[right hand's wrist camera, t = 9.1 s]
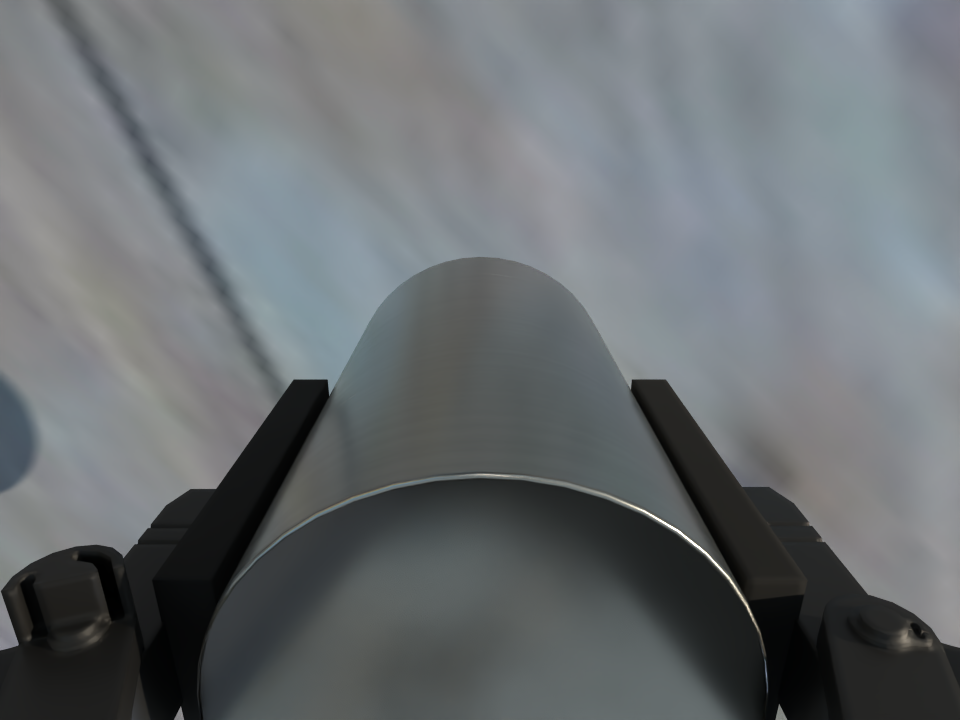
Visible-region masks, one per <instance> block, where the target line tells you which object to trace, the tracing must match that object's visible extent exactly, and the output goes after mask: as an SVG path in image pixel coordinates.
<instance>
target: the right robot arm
mask: <svg viewBox="0 0 960 720" xmlns="http://www.w3.org/2000/svg"><path fill="white" fill-rule="evenodd" d="M631 392H632V393H633V395H634V397H635V399H636V401H637V402H638V404H639V406H640V408H641V410H642V411H643V413H644V415H645V417H646V419H647V420H648V422H649V424H650V426H651V428H652V429H653V431H654V433H655V435H656V437H657V439H658V440H659V442H660V444H661V446H662V448H663V449H664V451H665V453H666V455H667V457H668V458H669V460H670V462H671V464H672V466H673V467H674V469H675V471H676V473H677V475H678V477H679V478H680V480H681V482H682V484H683V486H684V487H685V489H686V491H687V493H688V495H689V496H690V498H691V500H692V502H693V504H694V505H695V507H696V509H697V511H698V513H699V514H700V516H701V518H702V520H703V522H704V524H705V525H706V527H707V529H708V531H709V533H710V534H711V536H712V538H713V540H714V542H715V543H716V545H717V547H718V549H719V551H720V552H721V554H722V556H723V558H724V560H725V562H726V563H727V565H728V567H729V569H730V571H731V572H732V574H733V576H734V578H735V580H736V581H737V583H738V585H739V587H740V589H741V590H742V592H743V594H744V596H745V598H746V599H747V601H748V603H749V606H750V608H751V610H752V612H753V615H754V617H755V619H756V621H757V624H758V626H759V628H760V631H761V635H762V639H763V643H764V647H765V651H766V655H767V664H768V680H769V693H768V702H767V710H766V718H765V720H775V719H776V715H777V710H778V706H779V704H780V706H781V708H782V710H783V712H784V714H785V716H786V718H787V720H960V648H958V647H954V646H950V645H947V644H943V643H941V642H940V641H939V639H938V638H937V636H936V635H935V633H934V632H933V630H932V629H931V628H930V627H929V626H928V625H927V624H925V623H924V622H923V621H922V620H921V619H919V618H918V617H917V616H916V615H915V614H913V613H911V612H910V611H908V610H906V609H904V608H902V607H900V606H898V605H896V604H895V603H893V602H890V601H886V600H883V599H880V598H877V597H874V596H871V595H868V594H867V593H866V592H865V591H864V589H863V588H862V587H861V586H860V584H859V583H858V582H857V581H856V579H855V578H854V577H853V576H852V575H851V573H850V572H849V571H848V570H847V568H846V567H845V566H844V565H843V563H842V562H841V561H840V560H839V559H838V557H837V556H836V555H835V554H834V552H833V551H832V550H831V549H830V547H829V546H828V545H827V544H826V543H825V542H822V538H821V536H820V535H819V534H818V533H817V531H816V530H815V529H814V528H813V527H812V526H809V522H808V520H807V519H806V518H805V517H804V515H803V514H802V513H801V512H800V511H799V509H798V508H797V507H796V506H795V504H794V503H792V502H791V501H789V500H788V499H786V498H785V497H783V496H782V495H780V494H779V493H777V492H776V491H774V490H773V489H771V488H770V487H741V485H740V484H739V482H738V481H737V480H736V478H735V477H734V475H733V474H732V472H731V471H730V470H729V468H728V467H727V465H726V464H725V463H724V461H723V460H722V458H721V457H720V455H719V454H718V453H717V451H716V450H715V448H714V447H713V446H712V444H711V443H710V441H709V440H708V439H707V437H706V436H705V434H704V433H703V431H702V430H701V429H700V427H699V426H698V424H697V423H696V422H695V420H694V419H693V417H692V416H691V415H690V413H689V412H688V410H687V409H686V407H685V406H684V405H683V403H682V402H681V400H680V399H679V398H678V396H677V395H676V393H675V392H674V391H673V389H672V388H671V386H670V385H669V383H668V382H667V381H666V380H632V385H631ZM328 398H329V390H328V380H293V381H292V383H291V384H290V386H289V387H288V389H287V390H286V391H285V393H284V394H283V396H282V397H281V398H280V400H279V401H278V403H277V404H276V405H275V407H274V408H273V410H272V411H271V413H270V414H269V415H268V417H267V418H266V420H265V421H264V422H263V424H262V425H261V427H260V428H259V429H258V431H257V432H256V434H255V435H254V437H253V438H252V439H251V441H250V442H249V444H248V445H247V446H246V448H245V449H244V451H243V452H242V453H241V455H240V456H239V458H238V459H237V461H236V462H235V463H234V465H233V466H232V468H231V469H230V470H229V472H228V473H227V475H226V476H225V477H224V479H223V480H222V482H221V483H220V485H219V486H218V487H217V489H190V490H189V491H187V492H186V493H184V494H183V495H181V496H180V497H178V498H177V499H175V500H174V501H172V502H171V503H169V504H168V505H166V506H165V508H164V509H163V510H162V511H161V513H160V514H159V515H158V516H157V518H156V519H155V520H154V521H153V523H152V524H151V528H148V529H147V530H146V531H145V532H144V534H143V535H142V536H141V537H140V539H139V540H138V544H135V545H134V546H133V547H132V549H131V550H130V551H129V552H128V553H127V555H126V556H125V557H124V558H123V556H122V555H121V554H120V553H119V552H118V551H116V550H115V549H114V548H112V547H106V546H101V545H88V546H77V547H73V548H69V549H66V550H62V551H58V552H55V553H52V554H50V555H48V556H46V557H43V558H41V559H39V560H37V561H35V562H33V563H31V564H29V565H28V566H27V567H25V568H24V569H22V570H21V571H20V572H18V573H17V574H16V575H14V576H13V577H12V578H11V579H10V580H9V582H8V583H7V584H6V585H5V587H4V588H3V589H2V591H1V593H2V596H3V599H4V602H5V605H6V608H7V611H8V613H9V616H10V619H11V622H12V625H13V628H14V631H15V634H16V637H17V640H18V643H19V645H18V646H16V647H12V648H9V649H5V650H1V651H0V720H174V718H175V716H176V714H177V712H178V710H179V708H180V707H181V708H182V712H183V716H184V720H201V718H200V711H199V704H198V698H197V678H198V661H199V656H200V651H201V647H202V642H203V638H204V634H205V631H206V629H207V627H208V624H209V622H210V619H211V617H212V614H213V612H214V610H215V607H216V605H217V603H218V601H219V600H220V598H221V596H222V594H223V592H224V590H225V589H226V587H227V585H228V583H229V581H230V579H231V577H232V576H233V574H234V572H235V570H236V568H237V566H238V564H239V563H240V561H241V559H242V557H243V555H244V553H245V552H246V550H247V548H248V546H249V544H250V542H251V540H252V539H253V537H254V535H255V533H256V531H257V529H258V527H259V526H260V524H261V522H262V520H263V518H264V516H265V514H266V513H267V511H268V509H269V507H270V505H271V503H272V502H273V500H274V498H275V496H276V494H277V492H278V490H279V489H280V487H281V485H282V483H283V481H284V479H285V477H286V476H287V474H288V472H289V470H290V468H291V466H292V465H293V463H294V461H295V459H296V457H297V455H298V453H299V452H300V450H301V448H302V446H303V444H304V442H305V440H306V439H307V437H308V435H309V433H310V431H311V429H312V428H313V426H314V424H315V422H316V420H317V418H318V416H319V415H320V413H321V411H322V409H323V407H324V405H325V403H326V402H327V400H328Z"/></svg>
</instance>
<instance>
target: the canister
mask: <svg viewBox="0 0 960 720" xmlns="http://www.w3.org/2000/svg"><path fill="white" fill-rule="evenodd" d="M768 693H769V680H768V664H767V655H766V651H765V647H764V643H763V639H762V635H761V631H760V628H759V626H758V624H757V621H756V619H755V617H754V615H753V612H752V610H751V608H750V606H749V603H748V601H747V599H746V598H745V596H744V594H743V592H742V590H741V589H740V587H739V585H738V583H737V581H736V580H735V578H734V576H733V574H732V572H731V571H730V569H729V567H728V565H727V563H726V562H725V560H724V558H723V556H722V554H721V552H720V551H719V549H718V547H717V545H716V543H715V542H714V540H713V538H712V536H711V534H710V533H709V531H708V529H707V527H706V525H705V524H704V522H703V520H702V518H701V516H700V514H699V513H698V511H697V509H696V507H695V505H694V504H693V502H692V500H691V498H690V496H689V495H688V493H687V491H686V489H685V487H684V486H683V484H682V482H681V480H680V478H679V477H678V475H677V473H676V471H675V469H674V467H673V466H672V464H671V462H670V460H669V458H668V457H667V455H666V453H665V451H664V449H663V448H662V446H661V444H660V442H659V440H658V439H657V437H656V435H655V433H654V431H653V429H652V428H651V426H650V424H649V422H648V420H647V419H646V417H645V415H644V413H643V411H642V410H641V408H640V406H639V404H638V402H637V401H636V399H635V397H634V395H633V393H632V392H631V390H630V388H629V386H628V384H627V382H626V381H625V379H624V377H623V375H622V373H621V372H620V370H619V368H618V366H617V364H616V363H615V361H614V359H613V357H612V355H611V354H610V352H609V350H608V348H607V346H606V344H605V343H604V341H603V339H602V337H601V335H600V334H599V332H598V330H597V328H596V326H595V325H594V323H593V321H592V319H591V318H590V316H589V315H588V313H587V311H586V310H585V308H584V307H583V306H582V304H581V303H580V302H579V301H578V300H577V299H576V297H575V296H574V295H573V294H572V293H571V292H570V291H568V290H567V289H566V288H565V287H564V286H563V285H562V284H560V283H559V282H558V281H556V280H555V279H553V278H552V277H550V276H548V275H547V274H545V273H543V272H541V271H539V270H537V269H535V268H533V267H531V266H528V265H525V264H521V263H518V262H515V261H511V260H505V259H500V258H488V257H474V258H462V259H457V260H452V261H448V262H444V263H441V264H438V265H435V266H432V267H430V268H428V269H426V270H424V271H422V272H420V273H418V274H416V275H414V276H412V277H411V278H410V279H408V280H407V281H405V282H404V283H402V284H401V285H400V286H399V287H397V288H396V289H395V290H394V291H393V292H392V293H391V294H390V295H389V296H388V297H387V298H386V299H385V300H384V302H383V303H382V304H381V305H380V306H379V308H378V309H377V311H376V312H375V314H374V315H373V317H372V319H371V320H370V322H369V324H368V326H367V328H366V329H365V331H364V333H363V335H362V337H361V339H360V341H359V342H358V344H357V346H356V348H355V350H354V352H353V353H352V355H351V357H350V359H349V361H348V363H347V365H346V366H345V368H344V370H343V372H342V374H341V376H340V378H339V379H338V381H337V383H336V385H335V387H334V389H333V390H332V392H331V394H330V396H329V398H328V400H327V402H326V403H325V405H324V407H323V409H322V411H321V413H320V415H319V416H318V418H317V420H316V422H315V424H314V426H313V428H312V429H311V431H310V433H309V435H308V437H307V439H306V440H305V442H304V444H303V446H302V448H301V450H300V452H299V453H298V455H297V457H296V459H295V461H294V463H293V465H292V466H291V468H290V470H289V472H288V474H287V476H286V477H285V479H284V481H283V483H282V485H281V487H280V489H279V490H278V492H277V494H276V496H275V498H274V500H273V502H272V503H271V505H270V507H269V509H268V511H267V513H266V514H265V516H264V518H263V520H262V522H261V524H260V526H259V527H258V529H257V531H256V533H255V535H254V537H253V539H252V540H251V542H250V544H249V546H248V548H247V550H246V552H245V553H244V555H243V557H242V559H241V561H240V563H239V564H238V566H237V568H236V570H235V572H234V574H233V576H232V577H231V579H230V581H229V583H228V585H227V587H226V589H225V590H224V592H223V594H222V596H221V598H220V600H219V601H218V603H217V605H216V607H215V610H214V612H213V614H212V617H211V619H210V622H209V624H208V627H207V629H206V631H205V634H204V638H203V642H202V647H201V651H200V656H199V661H198V678H197V698H198V704H199V711H200V718H201V720H765V718H766V710H767V702H768Z"/></svg>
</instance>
